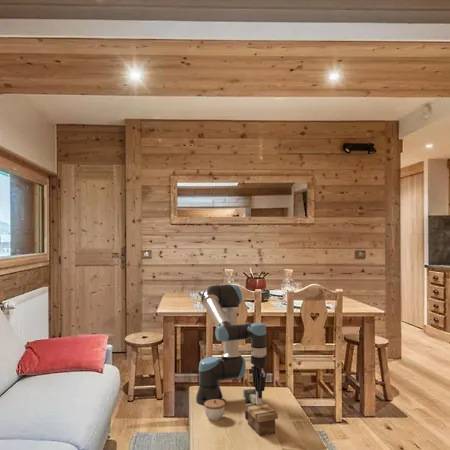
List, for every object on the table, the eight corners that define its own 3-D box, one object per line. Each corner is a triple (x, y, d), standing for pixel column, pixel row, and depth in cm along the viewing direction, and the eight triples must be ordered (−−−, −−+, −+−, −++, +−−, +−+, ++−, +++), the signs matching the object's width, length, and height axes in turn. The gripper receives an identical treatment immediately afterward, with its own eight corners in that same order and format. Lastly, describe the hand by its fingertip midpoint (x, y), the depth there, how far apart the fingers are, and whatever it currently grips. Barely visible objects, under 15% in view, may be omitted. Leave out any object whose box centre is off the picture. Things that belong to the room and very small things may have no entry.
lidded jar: (222, 423, 217) (222, 404, 218) (202, 421, 220) (202, 403, 220) (227, 414, 228) (227, 396, 228) (207, 413, 230) (207, 395, 230)
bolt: (243, 396, 228) (243, 389, 228) (250, 395, 229) (250, 388, 229) (252, 405, 216) (252, 397, 216) (259, 404, 217) (259, 396, 218)
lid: (245, 411, 217) (245, 404, 217) (263, 408, 221) (263, 401, 221) (258, 424, 202) (258, 416, 202) (277, 421, 206) (277, 413, 206)
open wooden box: (247, 424, 217) (247, 409, 217) (262, 421, 219) (262, 407, 220) (259, 436, 203) (259, 420, 204) (275, 433, 206) (274, 418, 206)
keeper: (245, 418, 223) (245, 390, 224) (254, 416, 225) (254, 388, 225) (246, 420, 221) (246, 391, 222) (256, 418, 223) (255, 390, 223)
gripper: (246, 352, 219) (246, 400, 219) (257, 359, 207) (257, 409, 206) (260, 351, 222) (260, 398, 221) (271, 358, 209) (271, 407, 209)
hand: (259, 403), depth 214 cm, fingers closed
